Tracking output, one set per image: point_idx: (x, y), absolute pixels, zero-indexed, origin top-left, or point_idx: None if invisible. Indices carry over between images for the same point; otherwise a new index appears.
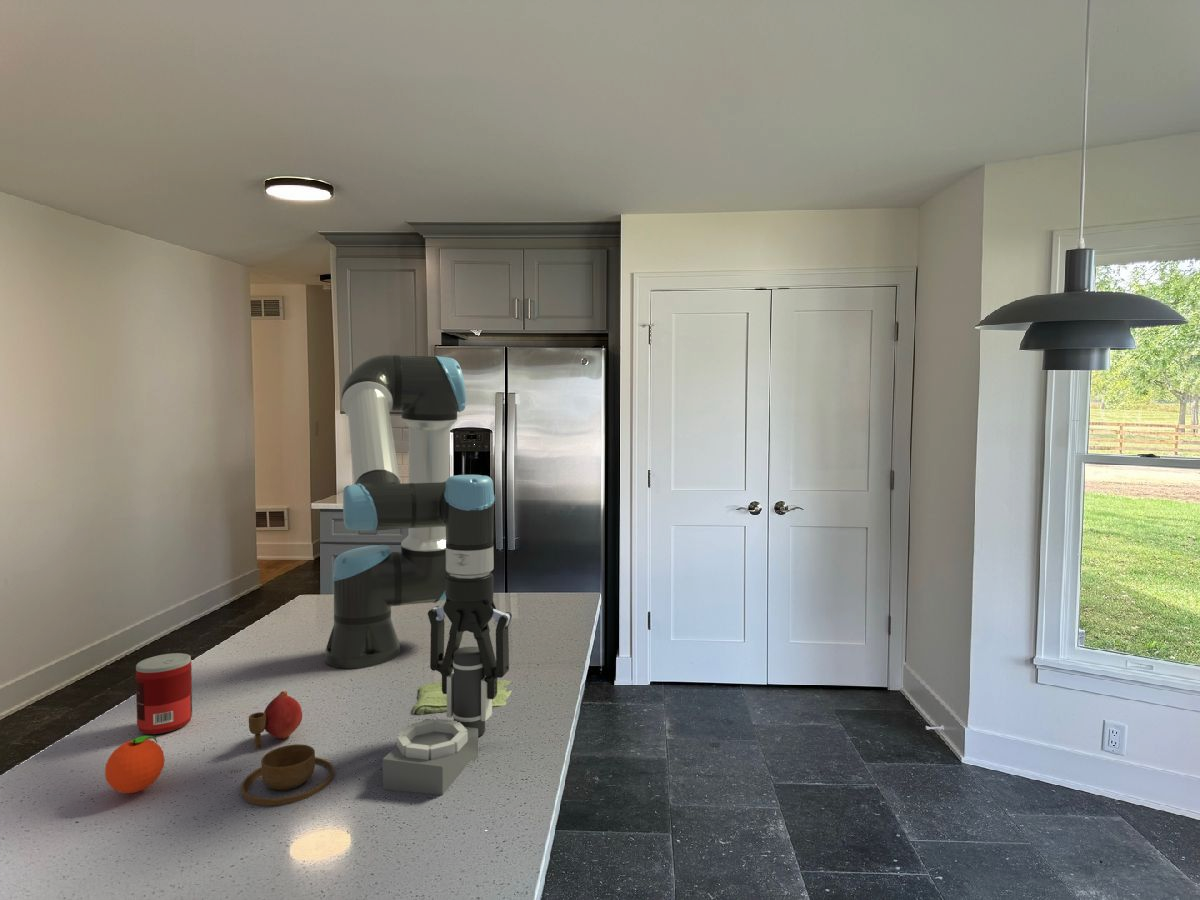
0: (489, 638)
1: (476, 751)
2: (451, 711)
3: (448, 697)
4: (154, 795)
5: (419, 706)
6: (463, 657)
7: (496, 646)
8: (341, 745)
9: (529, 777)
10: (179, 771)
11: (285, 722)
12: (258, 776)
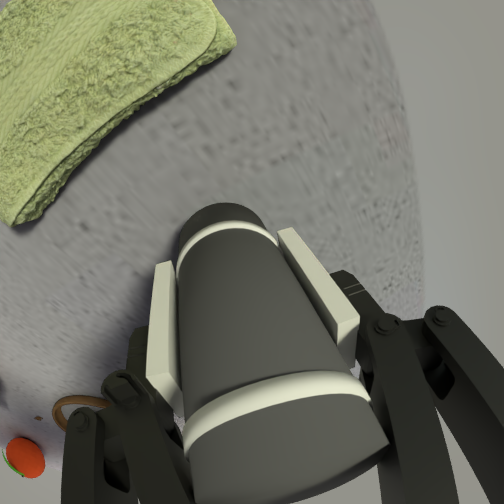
0: (451, 495)
1: None
2: None
3: None
4: (45, 444)
5: (12, 223)
6: (303, 498)
7: (471, 462)
8: (35, 350)
9: (393, 279)
10: (11, 422)
11: None
12: (64, 422)
